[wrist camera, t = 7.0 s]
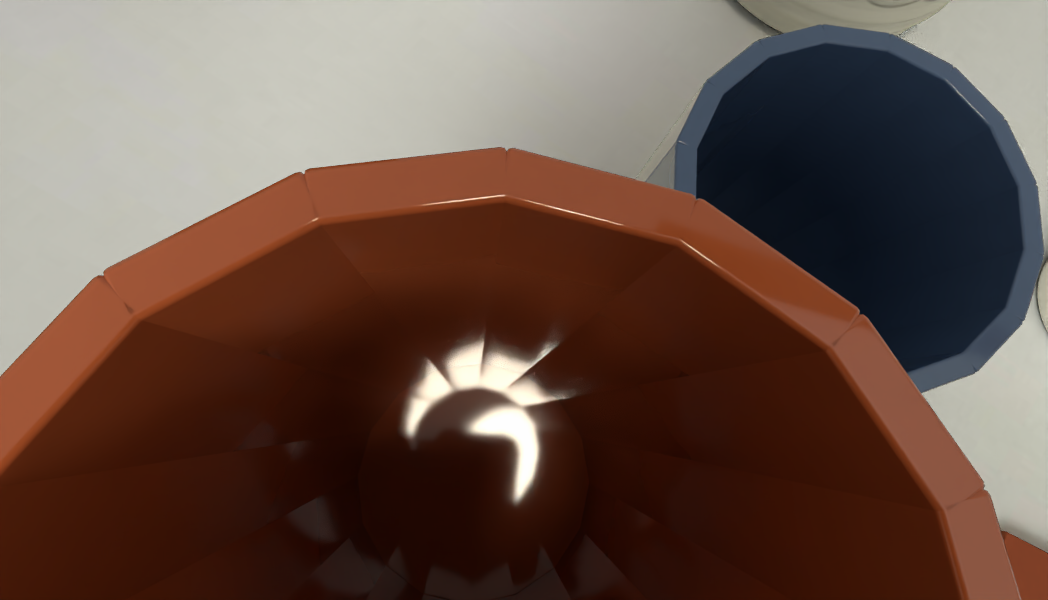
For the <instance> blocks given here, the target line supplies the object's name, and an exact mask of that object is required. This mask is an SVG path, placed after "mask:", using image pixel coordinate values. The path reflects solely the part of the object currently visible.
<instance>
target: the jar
mask: <svg viewBox="0 0 1048 600" xmlns="http://www.w3.org/2000/svg"><path fill="white" fill-rule="evenodd" d="M737 1H738V2H739V3H740V4H741V5H742V6H743V7H744V8H745V9H747V10H748V11H749V12H750V13H752V14H753V15H754V16H755V17H757V18H758V19H760V20H761V21H763V22H764V23H766V24H767V25H769V26H771V27H773V28H774V29H776V30H778V31H780V32H782V33H787V32H791V31H795V30H799V29H803V28H807V27H811V26H815V25H819V24H821V25H823V24H828V25H835V26H842V27H850V28H857V29H864V30H872V31H879V32H887V33H889V34H893V35H895V36H897V35H899V34H901V33H903V32H904V31H906V30H907V29H909V28H910V27H912V26H915V25H917V24H919V23H921V22H923V21H925V20H926V19H928V18H930V17H931V16H933V15H934V14H936V13H937V12H938V11H940V10H941V9H942V8H943V7H944V6H946V5H947V4H948V3H949V2H950V1H952V0H737Z"/></svg>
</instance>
